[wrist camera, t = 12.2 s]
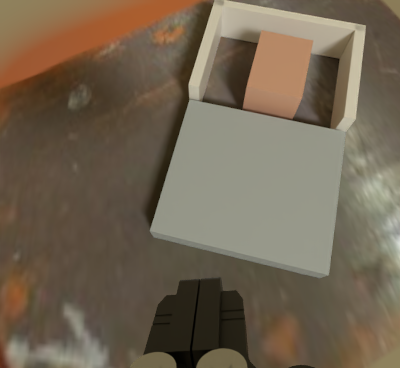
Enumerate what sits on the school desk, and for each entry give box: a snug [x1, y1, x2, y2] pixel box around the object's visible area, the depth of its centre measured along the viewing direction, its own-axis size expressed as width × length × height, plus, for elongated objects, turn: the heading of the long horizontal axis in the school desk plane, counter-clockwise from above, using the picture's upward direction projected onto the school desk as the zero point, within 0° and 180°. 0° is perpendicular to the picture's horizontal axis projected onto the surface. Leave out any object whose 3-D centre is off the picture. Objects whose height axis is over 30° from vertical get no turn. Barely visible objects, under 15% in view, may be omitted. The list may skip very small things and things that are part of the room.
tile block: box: [242, 30, 313, 121], centre depth 42 cm, size 6×6×8 cm
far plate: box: [150, 100, 346, 278], centre depth 39 cm, size 18×16×3 cm
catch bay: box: [188, 0, 366, 132], centre depth 43 cm, size 18×13×5 cm
